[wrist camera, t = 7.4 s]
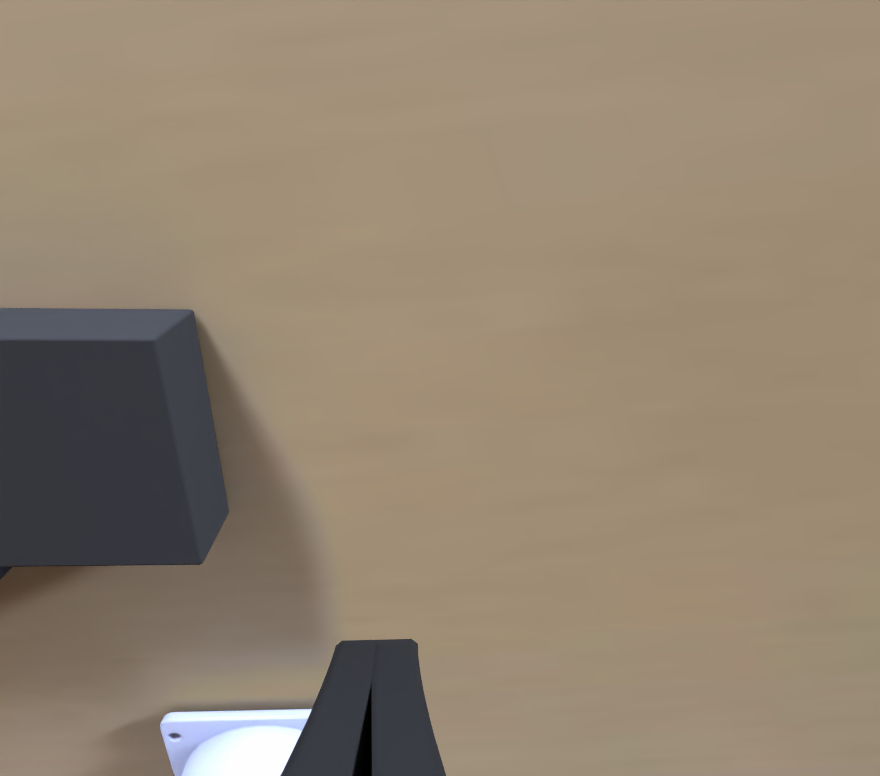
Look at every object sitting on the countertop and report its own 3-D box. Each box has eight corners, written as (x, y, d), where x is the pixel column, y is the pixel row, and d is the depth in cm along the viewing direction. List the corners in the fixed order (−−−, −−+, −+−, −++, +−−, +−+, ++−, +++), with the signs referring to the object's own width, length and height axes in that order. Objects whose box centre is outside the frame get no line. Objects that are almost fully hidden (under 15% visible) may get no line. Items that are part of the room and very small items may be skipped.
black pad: (230, 512, 18) (202, 565, 16) (-43, 514, 18) (-112, 569, 15) (194, 308, 15) (154, 338, 13) (-133, 306, 15) (-233, 335, 13)
